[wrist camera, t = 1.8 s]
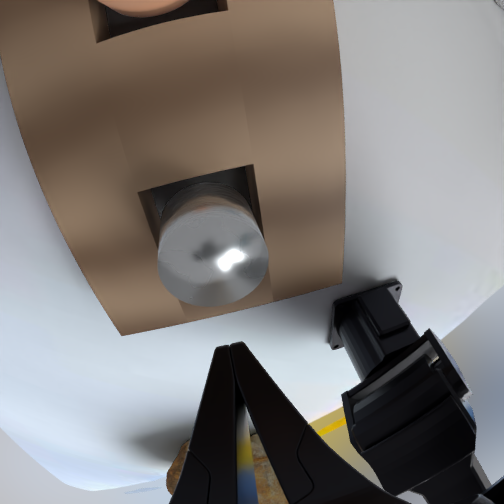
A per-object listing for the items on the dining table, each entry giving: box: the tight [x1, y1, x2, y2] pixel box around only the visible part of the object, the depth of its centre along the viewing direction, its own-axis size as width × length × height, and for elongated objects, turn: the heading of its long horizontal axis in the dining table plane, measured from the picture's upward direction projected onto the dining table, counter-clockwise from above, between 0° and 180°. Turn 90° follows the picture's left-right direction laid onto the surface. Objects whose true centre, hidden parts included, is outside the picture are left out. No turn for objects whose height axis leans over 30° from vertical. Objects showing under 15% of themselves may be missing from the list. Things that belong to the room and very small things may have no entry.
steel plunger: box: [158, 182, 269, 307], centre depth 13 cm, size 4×4×3 cm
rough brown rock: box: [166, 434, 289, 504], centre depth 34 cm, size 23×17×15 cm
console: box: [0, 0, 346, 336], centre depth 12 cm, size 24×14×3 cm, turn 8°
